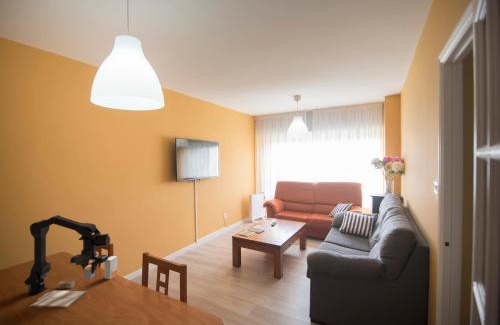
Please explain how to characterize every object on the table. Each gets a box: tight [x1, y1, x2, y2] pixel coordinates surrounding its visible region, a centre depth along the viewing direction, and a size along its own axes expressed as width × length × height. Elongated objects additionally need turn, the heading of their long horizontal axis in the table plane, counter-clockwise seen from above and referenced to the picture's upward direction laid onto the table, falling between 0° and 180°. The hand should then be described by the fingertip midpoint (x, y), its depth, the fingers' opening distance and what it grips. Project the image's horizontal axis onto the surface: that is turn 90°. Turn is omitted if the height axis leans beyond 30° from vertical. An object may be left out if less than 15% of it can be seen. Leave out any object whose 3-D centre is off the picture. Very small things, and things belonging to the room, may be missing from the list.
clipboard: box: [28, 289, 89, 309], centre depth 123 cm, size 20×14×1 cm
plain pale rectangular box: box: [57, 280, 76, 290], centre depth 134 cm, size 7×3×3 cm, turn 98°
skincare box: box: [104, 255, 118, 280], centre depth 145 cm, size 6×4×12 cm
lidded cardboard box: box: [83, 264, 96, 280], centre depth 133 cm, size 4×4×6 cm
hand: (89, 273), depth 133 cm, fingers closed on lidded cardboard box, 4 cm apart
